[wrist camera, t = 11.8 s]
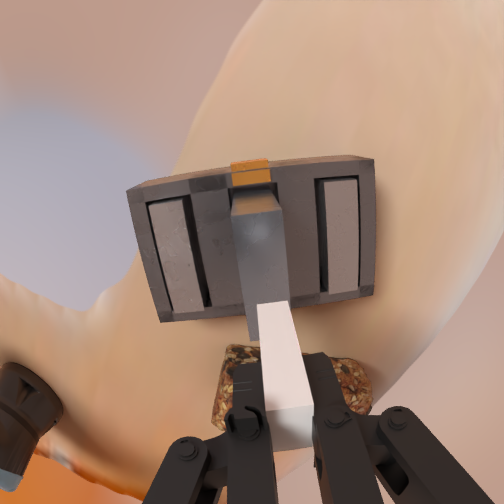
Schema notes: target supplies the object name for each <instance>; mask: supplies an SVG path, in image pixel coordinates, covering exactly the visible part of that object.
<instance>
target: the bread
mask: <svg viewBox="0 0 504 504" xmlns="http://www.w3.org/2000/svg"><path fill="white" fill-rule="evenodd" d="M301 354H302V355H309V354H305V353H301ZM330 359H331V362H332V364H333V367H334V370H335V373H336V376H337V378H338V381H339V384H340V387H341V390H342V392H343V395H344V398H345V401H346V403H347V405H348V407H349V408H350V409H351V410H352V411H354V412H356V413H358V414H361V415H368V414H369V413H370V411H371V409H372V407H371V402H372V400H373V398H372V387H371V382H370V381H369V380H368V379H367V376H366V374H365V373H364V369H363V368H361V367H360V366H359V364H358V363H357V362H355V361H353V360H351V359H349V358H347V359H336V358H330ZM255 362H262V361H261V349H260V348H257V347H252V348H250V347H246V346H241V345H229V346H228V347H227V349H226V352H225V358H224V361H223V365H222V369H221V373H220V378H219V383H218V388H217V393H216V397H215V402H214V406H213V413H212V420H211V423H212V424H213V425H215V426H216V427H218V429H219V430H221V431H226V430H227V428H226V425H225V422H224V417H225V414H226V413H227V411H228V410H229V409H230V408H232V394H233V372H234V371H235V369H236V367H237V366H238V364H245V363H255Z"/></svg>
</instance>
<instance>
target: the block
mask: <svg viewBox="0 0 504 504" xmlns="http://www.w3.org/2000/svg"><path fill="white" fill-rule="evenodd" d="M231 222H232V229H233V236H234V242H235V249H236V255H237V262H238V268H239V275H240V281H241V287H242V294H243V300H244V306H245V312H246V318H247V325H248V331H249V337H250V341H257V340H260V337H259V326H258V314H257V304H265V303H273V302H280V301H288V304H289V308H290V312H291V306H290V293H289V280H288V268H287V257H286V245H285V235H284V224H283V214H282V209H281V207H280V205H279V203H278V202H277V200H276V198H275V196H274V195H273V193H272V191H271V190H270V188H269V186H268V185H263V186H254V187H247V188H239V189H235V190H234V196H233V203H232V210H231Z"/></svg>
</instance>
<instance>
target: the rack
mask: <svg viewBox="0 0 504 504" xmlns="http://www.w3.org/2000/svg"><path fill="white" fill-rule="evenodd" d="M263 185H268V186H269V188H270V190H271V191H272V193H273V195H274V196H275V198H276V200H277V202H278V203H279V205H280V207H281V209H282V214H283V224H284V235H285V245H286V257H287V268H288V280H289V293H290V306H291V308H298V307H305V306H311V305H318V304H324V303H331V302H337V301H343V300H349V299H354V298H360V297H366V296H371V295H373V292H374V275H375V250H376V194H375V169H374V159H370V158H364V157H359V156H353V155H341V156H325V157H312V158H301V159H290V160H280V161H271V162H268V160H267V159H266V158H264V159H256V160H248V161H240V162H233V163H231V167H224V168H217V169H210V170H204V171H198V172H192V173H186V174H180V175H174V176H169V177H164V178H158V179H154V180H149V181H145V182H143V183H141V184H139V185H137V186H135V187H133V188H131V189H129V190H127V191H126V193H127V198H128V203H129V207H130V212H131V217H132V221H133V225H134V229H135V233H136V238H137V242H138V246H139V250H140V254H141V258H142V262H143V265H144V269H145V273H146V276H147V280H148V284H149V287H150V290H151V294H152V297H153V301H154V304H155V307H156V310H157V314H158V317H159V320H160V323H162V322H175V321H186V320H197V319H208V318H217V317H227V316H236V315H245V314H246V312H245V306H244V300H243V294H242V287H241V281H240V275H239V268H238V262H237V255H236V249H235V242H234V236H233V229H232V222H231V210H232V203H233V196H234V190H235V189H239V188H247V187H254V186H263Z"/></svg>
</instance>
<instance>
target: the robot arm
mask: <svg viewBox="0 0 504 504" xmlns="http://www.w3.org/2000/svg"><path fill="white" fill-rule="evenodd" d="M257 314H258V326H259V337H260V349H261V361H262V362H255V363H245V364H238V366H237V367H236V369H235V371H234V372H233V394H232V408H230V409H229V410H228V411H227V413H226V414H225V417H224V422H225V425H226V428H227V430H226V432H224V433H223V434H221V435H220V436H217V437H215V438H211V439H208V440H205V441H202V440H201V439H199V438H196V437H183V438H179V439H178V440H176V441H175V442H173V444H172V445H171V446H170V447H169V450H168V452H167V454H166V456H165V458H164V460H163V462H162V464H161V466H160V468H159V470H158V472H157V474H156V476H155V478H154V480H153V482H152V484H151V486H150V488H149V491H148V493H147V495H146V497H145V499H144V501H143V503H142V504H217V503H218V501H219V498H220V495H221V492H222V489H223V487H224V486H227V504H278V493H277V483H276V473H275V464H274V456H273V452H278V451H286V450H294V449H301V448H307V447H312V446H313V447H314V452H315V455H314V467H316V470H317V476H318V481H319V486H320V491H321V497H322V503H323V504H384V502H383V499H382V496H381V493H380V489H379V486H378V483H377V480H376V476H377V478H378V479H379V481H380V482H381V484H382V485H383V487H384V488H385V489H386V491H387V492H388V494H389V495H390V497H391V498H392V500H393V501H394V502H395V504H495V503H494V502H493V501H492V500H491V499H490V498H489V497H488V496H487V495H486V493H485V492H484V491H483V490H482V489H481V488H480V487H479V485H478V484H477V483H476V482H475V481H474V480H473V478H472V477H471V476H470V475H469V474H468V473H467V472H466V471H465V469H464V468H463V467H462V466H461V465H460V464H459V463H458V462H457V460H456V459H455V458H454V457H453V456H452V455H451V454H450V453H449V451H448V450H447V449H446V448H445V447H444V446H443V445H442V444H441V443H440V441H439V440H438V439H437V438H436V437H435V436H434V435H433V434H432V433H431V431H430V430H429V429H428V428H427V427H426V426H425V425H424V424H423V423H422V421H420V419H419V418H418V417H417V416H416V415H415V414H414V413H413V412H412V411H411V410H410V409H408V408H405V407H402V406H394V407H391V408H388V409H387V410H385V411H384V412H382V414H381V415H361V414H358V413H356V412H354V411H352V410H351V409H350V408H349V407H348V405H347V403H346V401H345V398H344V395H343V392H342V390H341V387H340V384H339V381H338V378H337V376H336V373H335V370H334V367H333V364H332V362H331V359H330V358H329V357H328V356H327V355H326V354H324V353H323V352H321V353H315V354H309V355H302V354H301V350H300V346H299V342H298V339H297V335H296V331H295V327H294V323H293V319H292V315H291V312H290V308H289V304H288V301H280V302H273V303H265V304H257ZM62 413H63V408H62V405H61V403H60V401H59V399H58V397H57V396H56V394H55V393H54V392H53V391H52V390H51V388H50V387H49V386H48V385H47V384H46V383H45V382H44V381H43V380H42V379H40V378H39V377H38V376H37V375H35V374H34V373H33V372H31V371H30V370H28V369H27V368H25V367H23V366H21V365H19V364H16V363H11V362H9V363H5V364H4V365H3V366H2V368H1V369H0V489H2V490H4V491H7V492H13V491H15V490H16V489H17V487H18V485H19V483H20V481H21V480H22V479H23V475H24V472H25V470H26V468H27V465H28V463H29V461H30V458H31V456H32V454H33V452H34V450H35V448H36V445H37V443H38V441H39V439H40V438H41V437H42V436H43V435H44V434H45V433H46V432H48V431H49V430H50V429H51V428H52V427H53V426H54V425H56V424H57V423H58V422H59V420H60V418H61V416H62ZM375 475H376V476H375Z"/></svg>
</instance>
